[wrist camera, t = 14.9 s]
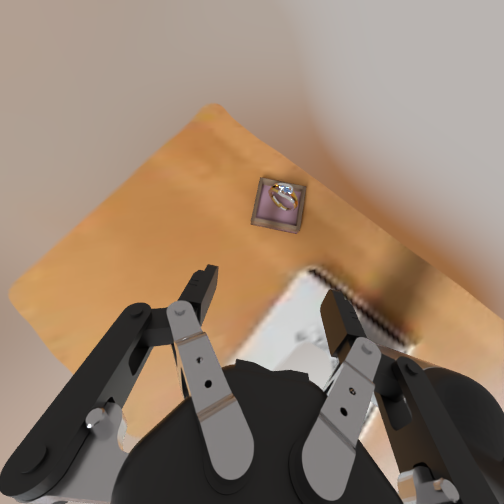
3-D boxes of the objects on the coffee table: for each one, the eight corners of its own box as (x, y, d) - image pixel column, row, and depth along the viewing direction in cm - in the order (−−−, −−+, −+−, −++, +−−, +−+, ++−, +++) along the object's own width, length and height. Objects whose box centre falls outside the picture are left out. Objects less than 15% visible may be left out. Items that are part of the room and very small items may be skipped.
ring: (263, 201, 46) (268, 182, 38) (273, 192, 46) (279, 172, 38) (285, 221, 45) (294, 205, 37) (294, 212, 45) (305, 194, 37)
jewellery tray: (303, 192, 48) (306, 186, 45) (296, 233, 45) (299, 230, 43) (259, 183, 48) (260, 177, 45) (250, 224, 45) (251, 220, 43)
